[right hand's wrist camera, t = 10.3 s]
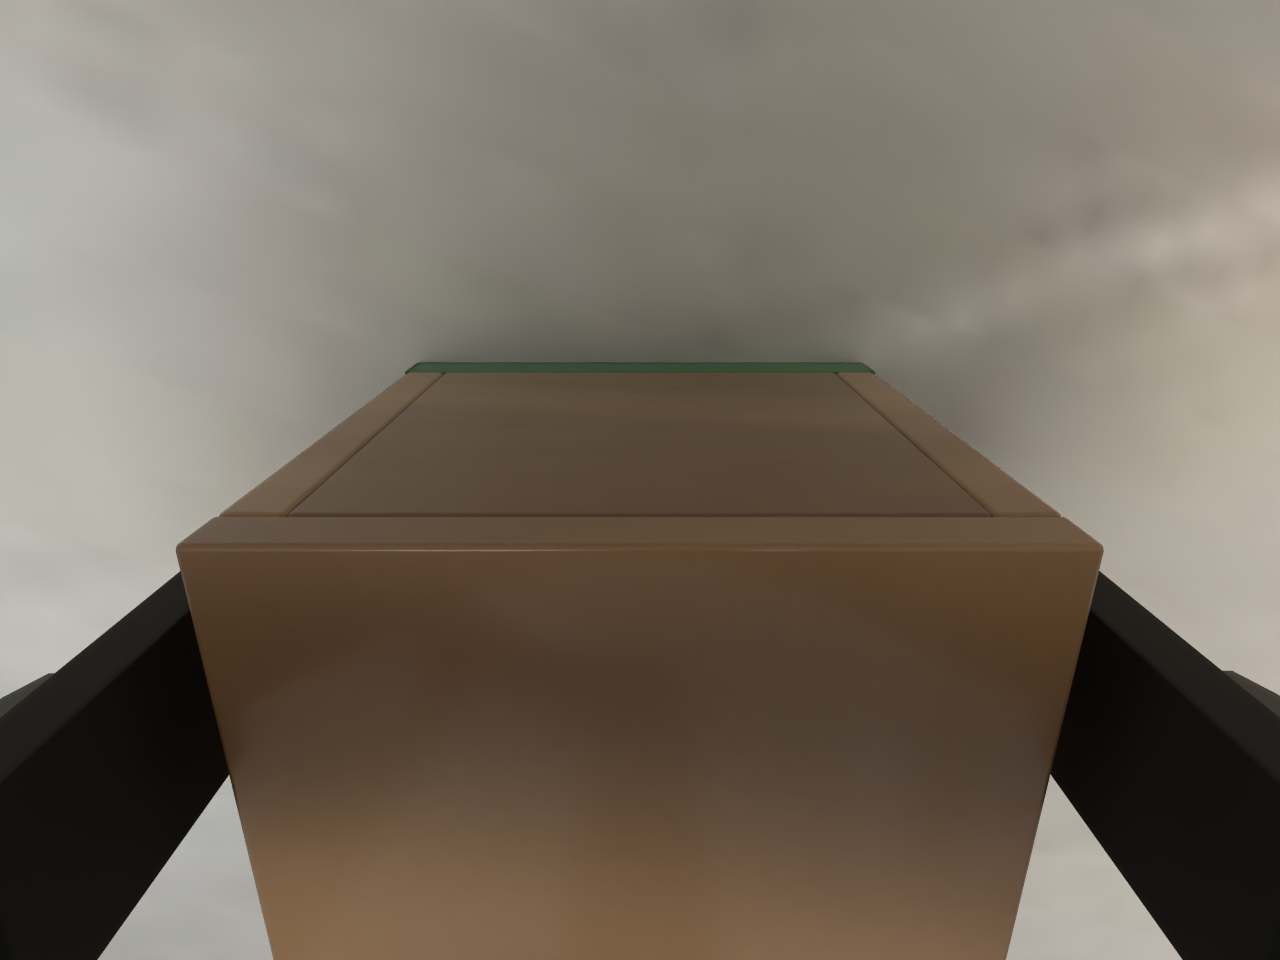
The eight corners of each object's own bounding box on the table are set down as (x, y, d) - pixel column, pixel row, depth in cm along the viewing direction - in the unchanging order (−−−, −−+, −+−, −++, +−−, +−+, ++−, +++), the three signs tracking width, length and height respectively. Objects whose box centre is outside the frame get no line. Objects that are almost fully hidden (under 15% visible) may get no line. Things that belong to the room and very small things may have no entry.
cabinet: (794, 1016, 24) (882, 1484, 15) (485, 1016, 24) (396, 1484, 15) (862, 362, 16) (1109, 545, 8) (417, 363, 16) (169, 544, 8)
